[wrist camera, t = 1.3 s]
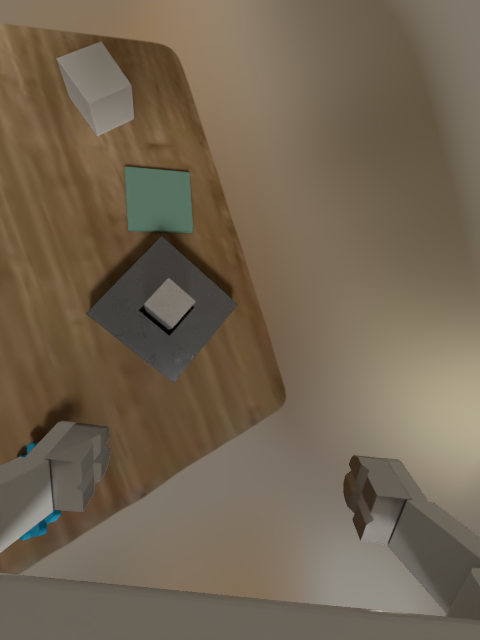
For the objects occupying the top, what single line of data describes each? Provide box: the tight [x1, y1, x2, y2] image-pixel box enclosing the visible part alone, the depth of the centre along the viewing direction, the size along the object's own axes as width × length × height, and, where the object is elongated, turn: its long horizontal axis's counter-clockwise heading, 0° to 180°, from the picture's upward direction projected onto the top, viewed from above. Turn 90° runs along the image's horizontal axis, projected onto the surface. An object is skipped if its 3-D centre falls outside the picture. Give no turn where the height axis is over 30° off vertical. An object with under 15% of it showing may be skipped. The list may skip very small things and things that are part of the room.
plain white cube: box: [56, 42, 134, 136], centre depth 38 cm, size 6×6×6 cm
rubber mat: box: [125, 167, 193, 233], centre depth 42 cm, size 9×9×1 cm
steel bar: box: [144, 278, 196, 330], centre depth 37 cm, size 4×4×10 cm
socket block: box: [86, 236, 238, 383], centre depth 41 cm, size 14×14×3 cm
